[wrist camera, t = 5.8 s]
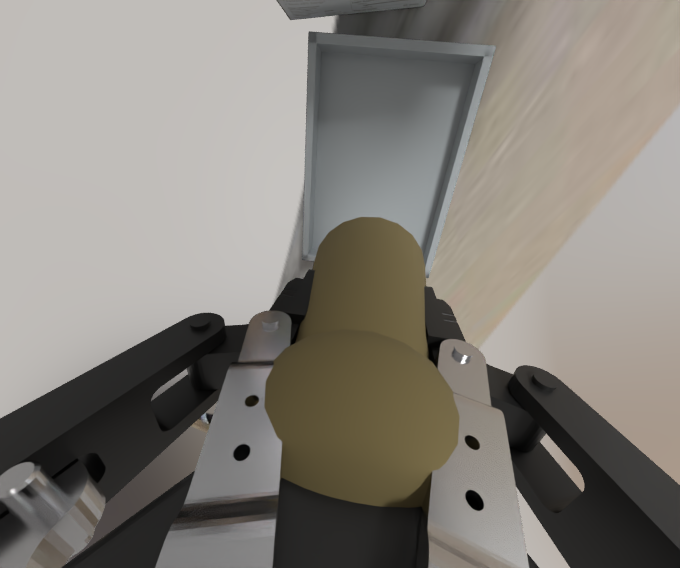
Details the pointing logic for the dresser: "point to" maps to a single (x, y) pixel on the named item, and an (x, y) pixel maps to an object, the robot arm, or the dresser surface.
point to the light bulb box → (341, 7)
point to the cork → (363, 375)
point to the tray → (387, 131)
